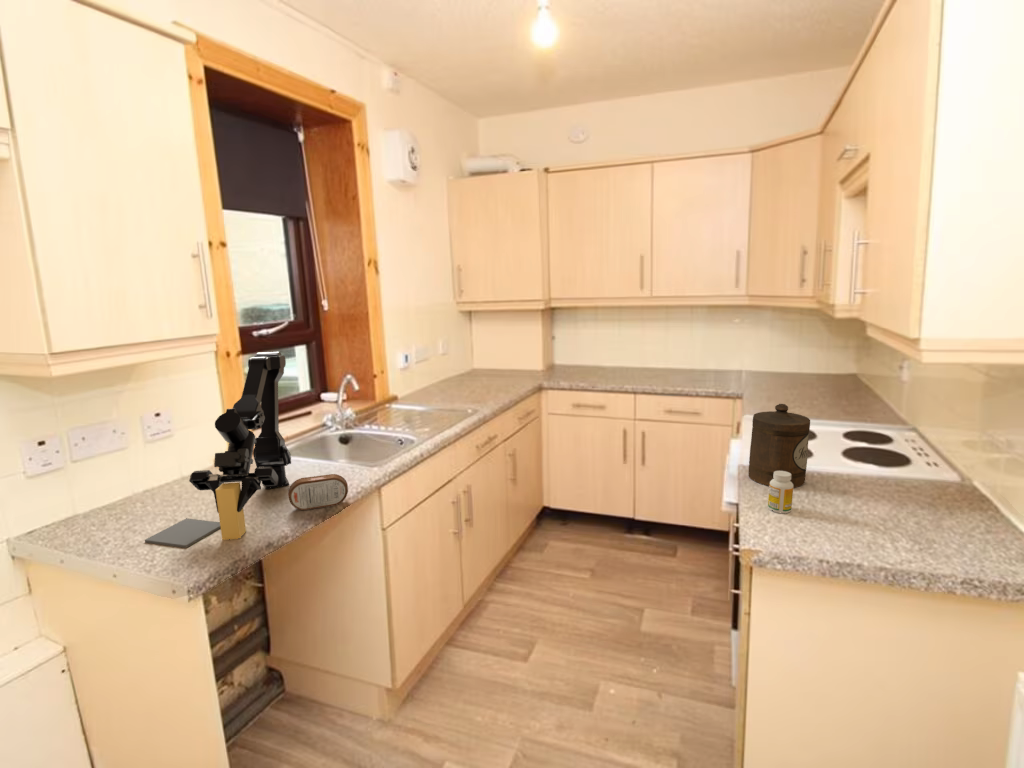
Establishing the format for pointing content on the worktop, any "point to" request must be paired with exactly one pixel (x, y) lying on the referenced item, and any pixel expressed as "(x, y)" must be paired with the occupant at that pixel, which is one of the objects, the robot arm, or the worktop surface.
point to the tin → (318, 491)
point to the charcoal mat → (184, 533)
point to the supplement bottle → (780, 492)
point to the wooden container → (779, 445)
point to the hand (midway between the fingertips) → (228, 512)
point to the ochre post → (230, 511)
